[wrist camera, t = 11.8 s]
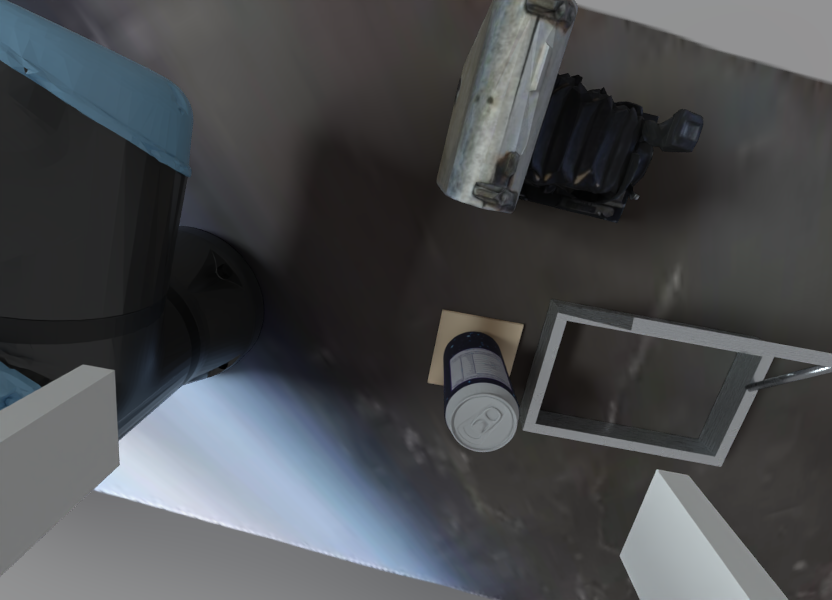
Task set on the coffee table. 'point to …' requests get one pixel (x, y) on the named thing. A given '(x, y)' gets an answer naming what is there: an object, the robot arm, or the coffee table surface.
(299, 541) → the coffee table surface
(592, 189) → the vintage camera
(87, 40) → the robot arm
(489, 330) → the pad
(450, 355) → the beverage can
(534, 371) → the case
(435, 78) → the coffee table surface
